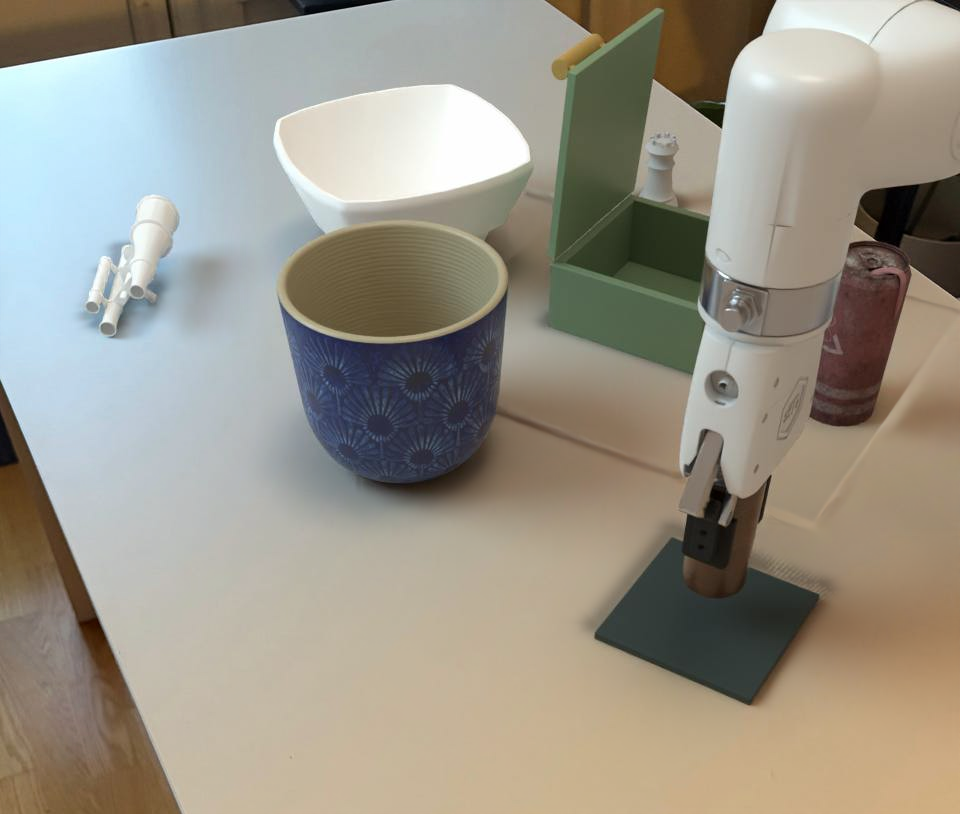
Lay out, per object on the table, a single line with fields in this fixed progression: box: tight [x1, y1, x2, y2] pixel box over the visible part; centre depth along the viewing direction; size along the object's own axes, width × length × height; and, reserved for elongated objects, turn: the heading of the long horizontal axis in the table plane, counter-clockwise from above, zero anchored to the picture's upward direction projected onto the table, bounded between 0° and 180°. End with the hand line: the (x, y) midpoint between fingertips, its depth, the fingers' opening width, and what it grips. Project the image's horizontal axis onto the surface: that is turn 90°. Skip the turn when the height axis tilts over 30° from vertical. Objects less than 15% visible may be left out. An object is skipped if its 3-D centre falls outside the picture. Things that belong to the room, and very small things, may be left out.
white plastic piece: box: [84, 194, 181, 338], centre depth 114 cm, size 8×14×5 cm
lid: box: [546, 7, 665, 261], centre depth 104 cm, size 16×15×5 cm
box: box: [548, 193, 710, 376], centre depth 110 cm, size 15×15×7 cm
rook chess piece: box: [638, 131, 680, 208], centre depth 122 cm, size 4×4×8 cm
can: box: [809, 240, 913, 428], centre depth 97 cm, size 6×6×14 cm
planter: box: [276, 220, 509, 484], centre depth 95 cm, size 17×17×15 cm
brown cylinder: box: [682, 466, 767, 598], centre depth 81 cm, size 4×4×9 cm
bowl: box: [272, 83, 535, 242], centre depth 115 cm, size 22×22×12 cm
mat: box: [594, 536, 821, 706], centre depth 87 cm, size 12×12×1 cm
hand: (722, 535), depth 81 cm, fingers closed on brown cylinder, 4 cm apart
